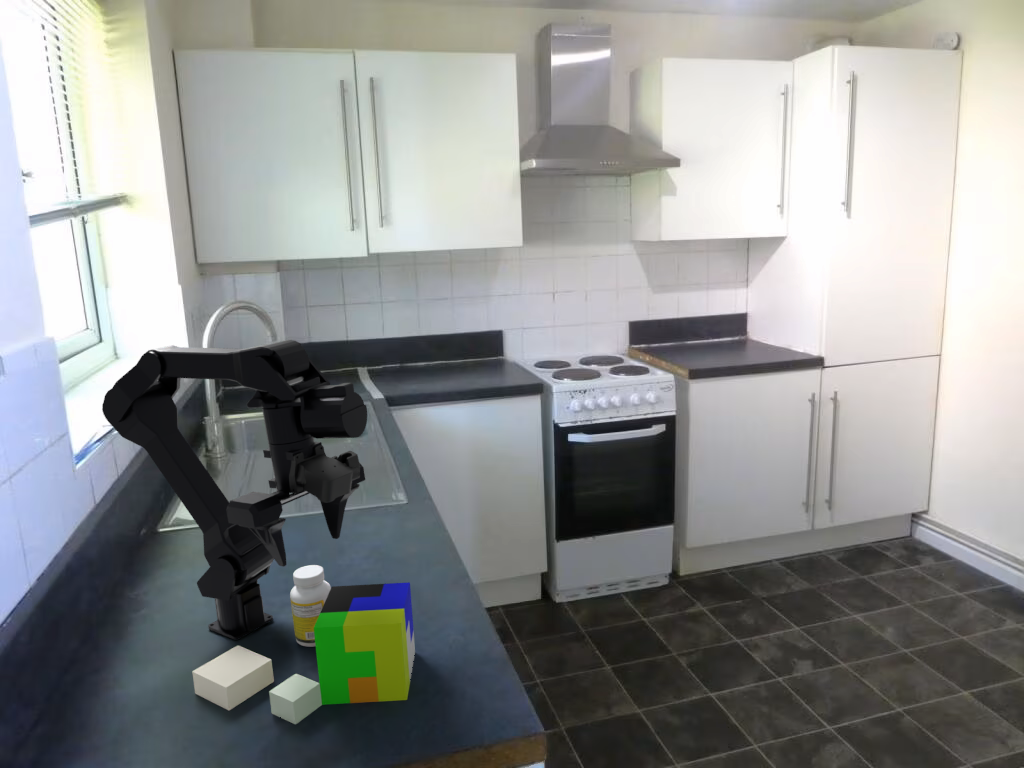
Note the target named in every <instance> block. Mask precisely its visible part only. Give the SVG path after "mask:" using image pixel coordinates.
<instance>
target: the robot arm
mask: <svg viewBox="0 0 1024 768" xmlns="http://www.w3.org/2000/svg"><path fill="white" fill-rule="evenodd" d="M181 379H192V380H193V379H194V380H198V379H199V380H215V381H216V380H218V381H219V380H222V381H232V382H236V383H237V384H239V385H241V386H242V387H243V388H247V389H251V390H255V393H254V395H253V396H252V397H251V398H250V399H249V400H248V402H246V407H247V408H248V409H259V408H260V409H261V410H262V415H263V421H264V426H265V432H266V438H267V443H268V444H267V445H268V448H265V449H262V452H263V458H264V459H270V461H271V467H272V472H273V478H271V479H269V480H268V485H269V489H275V490H276V491H274V492H272V493H265V492H259V491H258V492H257V491H252V492H251V491H250V492H248V493H245V494H243V495H241V496H239V497H236V498H234V499H231V500H228V499H227V497H226V495H225V494H224V493H223V491H222V490H221V489H220V487H219V485H218V484H217V483H216V481H215V480H214V479H213V476H211V474H210V473H209V471H208V470H207V469H206V467H205V465H204V464H203V463H202V461H201V459H200V458H199V457H198V454H196V452H195V451H194V449H193V448H192V447H191V445H190V443H189V442H188V441H187V440H186V438H185V437H184V435H183V433H181V430H180V429H179V423H178V422H179V420H178V419H179V418H178V417H179V416H178V415H179V413H178V407H177V405H176V404H175V402H174V397H175V395H176V394H177V393H178V391H179V390H180V388H181ZM364 402H365V401H364V400H363V398H362V397H361V395H360V394H359V393H358V392H356V391H355V388H354V383H352V382H344V383H343V382H342V383H339V384H334V385H333V384H332V385H331V382H330V381H329V380H328V378H327V377H326V376H325V375H324V374H323V373H322V371H321V370H320V369H319V368H318V366H317V365H316V364H315V363H314V362H313V361H312V360H311V358H310V357H309V355H308V353H307V351H306V349H305V348H304V347H303V346H302V344H301V343H300V342H298V341H297V340H293V339H285V340H281V341H276V342H270V343H265V344H261V345H257V346H255V345H254V346H251V347H246V348H233V347H232V348H228V347H227V348H225V347H223V348H221V347H219V348H218V347H186V346H184V347H180V346H177V345H174V344H173V345H168V346H163V347H158V348H153V349H148V350H147V351H146V352H145V353H143V354H142V356H141V357H140V358H139V360H138V361H137V363H135V365H134V366H133V367H131V369H129V370H128V371H127V372H126V373H125V374H124V375H122V376H121V377H120V378H119V379H118V380H117V381H116V382H115V383H114V384H113V386H112V388H110V389H109V390H107V391H106V393H105V395H104V398H103V402H102V409H101V410H102V414H103V416H104V417H105V419H106V421H107V422H108V423H109V424H110V425H111V427H112V428H114V430H115V431H116V432H117V434H119V435H120V436H121V437H122V438H123V439H125V440H128V441H130V443H131V442H132V443H133V444H135V445H138V446H139V447H141V448H143V449H144V450H145V451H146V452H147V454H148V456H149V457H150V458H151V459H152V461H153V463H154V464H155V465H156V467H157V468H158V470H159V471H160V473H161V474H162V477H164V478H165V480H166V481H167V483H168V484H169V486H170V488H172V490H173V492H174V493H175V495H176V496H177V497H178V498H179V500H180V502H181V503H182V504H183V506H184V507H185V509H186V510H187V512H188V513H189V514H190V516H191V517H192V519H193V520H194V521H195V523H196V525H197V526H198V528H199V530H201V532H202V534H203V535H202V536H203V538H202V539H203V555H204V558H205V560H206V561H207V564H208V565H209V567H208V568H207V569H206V571H205V572H204V573H203V574H202V575H201V577H200V578H199V579H198V580H197V581H196V585H197V588H198V590H199V592H200V595H201V597H204V598H210V599H214V604H215V611H216V619H217V620H215V621H212V622H211V623H209V624H208V625H207V629H208V630H211V631H212V632H215V633H217V634H220V635H223V636H224V637H227V638H230V639H232V640H234V641H237V640H240V639H242V638H243V637H246V636H248V634H250V633H252V632H254V631H256V630H258V629H259V628H261V627H263V626H265V625H266V624H268V623H270V622H272V621H273V620H274V616H273V615H271V614H269V613H266V612H265V610H264V603H263V596H262V593H261V586H260V585H261V584H260V583H258V580H259V579H261V578H262V577H264V576H266V575H268V574H269V573H270V568H271V564H272V563H273V562H274V561H275V562H276V564H277V565H278V566H280V567H286V566H287V554H286V548H285V542H284V537H283V536H284V535H283V532H282V529H283V526H284V525H285V523H286V521H287V520H286V518H284V517H281V515H282V513H283V511H284V509H283V506H284V505H286V504H289V503H291V502H293V501H295V500H298V499H300V498H302V497H305V496H307V495H309V494H310V495H312V496H314V497H316V498H317V500H318V501H319V502H320V505H321V509H322V513H323V515H324V519H325V522H326V525H327V529H328V531H329V533H330V535H331V538H332V539H335V540H338V539H340V537H341V533H342V526H343V521H344V515H345V510H346V507H347V503H348V500H349V497H351V496H352V494H353V493H354V492H355V491H356V490H358V489H359V487H360V483H362V482H364V481H366V475H365V474H366V473H365V468H364V466H363V465H362V464H361V463H360V459H359V457H358V454H357V453H356V452H354V451H352V450H348V451H345V452H343V453H340V454H339V455H334V456H331V457H330V456H327V454H326V452H325V447H324V445H322V444H323V443H322V442H321V441H315V439H317V440H318V439H353V438H355V439H357V438H359V437H361V435H363V434H364V431H365V429H366V427H367V423H368V408H367V407H368V406H367V405H366V404H365V403H364Z"/></svg>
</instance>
